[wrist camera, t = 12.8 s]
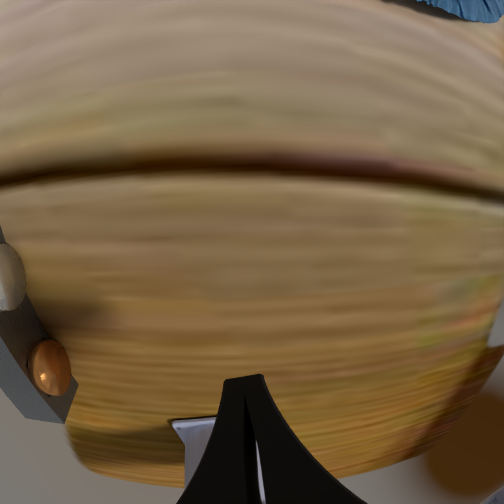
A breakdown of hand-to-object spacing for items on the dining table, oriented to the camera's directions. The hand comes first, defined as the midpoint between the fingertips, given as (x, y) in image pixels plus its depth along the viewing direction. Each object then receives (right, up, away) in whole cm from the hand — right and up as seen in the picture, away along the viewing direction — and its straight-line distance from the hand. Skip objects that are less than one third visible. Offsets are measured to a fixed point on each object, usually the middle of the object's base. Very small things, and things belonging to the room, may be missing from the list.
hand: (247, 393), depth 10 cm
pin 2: (-22, -4, +9) cm, 24 cm away
